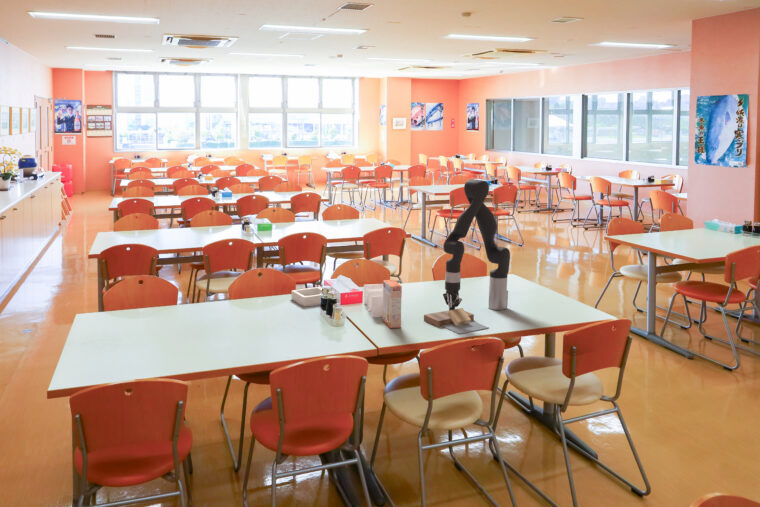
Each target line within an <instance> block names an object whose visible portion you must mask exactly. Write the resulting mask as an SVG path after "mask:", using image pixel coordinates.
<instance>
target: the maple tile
mask: <svg viewBox="0 0 760 507" xmlns="http://www.w3.org/2000/svg"><path fill="white" fill-rule="evenodd" d="M465 311H466V310H465V309H464V307H461V308H455V309H454V310H450V311H449V313H448V316H449V317H450V319H451V320H452V321H453V323H454V324H455V326H460V325H465V324H469V323H470V321H471V319H470V317H469V316H468V315H467V313H466V312H467V311H466V312H465Z"/></svg>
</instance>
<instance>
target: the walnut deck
mask: <svg viewBox="0 0 760 507" xmlns="http://www.w3.org/2000/svg"><path fill="white" fill-rule="evenodd" d="M464 311H465V312H466V313H467V315H468V316H469V317H470V319H471V320H472V321H474V320H475V317H474V316H475V314H473V313H471V312H468V311H466V310H464ZM448 313H449V309H448V310H444V311H438V312H432V313H427V314H423V321H425V322H427V323H429V324H431V325H433V326H435V327H437V328H440V327H442V325H447V324H452V323H453V321H452V320H451V319H450V317H449V316H448Z"/></svg>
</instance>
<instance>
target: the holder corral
mask: <svg viewBox="0 0 760 507" xmlns="http://www.w3.org/2000/svg"><path fill="white" fill-rule="evenodd" d="M322 289H323V288H322V287H320V286H317V287H316V286H315V287H314V286H313V287H308V288H307V287H306V288H301V289H293V290H291V300H292V301H294V302H296V303H298V304H299V305H301V306H302V307H308V306H309V307H311V306H317V305H318V306H319V305H321V304H320V297H321V294H320V293H321V291H322Z"/></svg>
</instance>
